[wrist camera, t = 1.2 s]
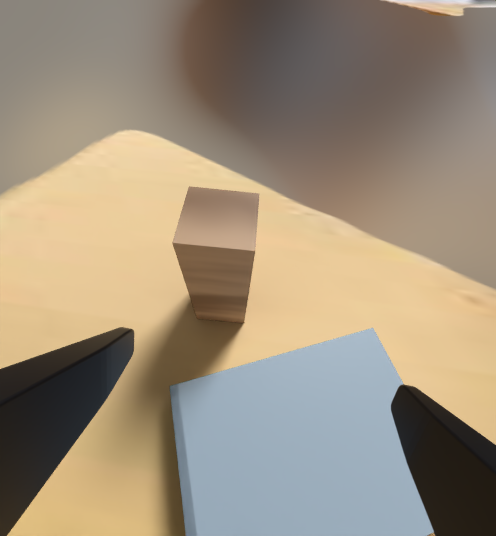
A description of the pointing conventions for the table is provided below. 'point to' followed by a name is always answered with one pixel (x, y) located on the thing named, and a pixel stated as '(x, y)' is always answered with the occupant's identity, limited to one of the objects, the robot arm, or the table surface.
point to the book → (297, 446)
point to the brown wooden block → (217, 250)
